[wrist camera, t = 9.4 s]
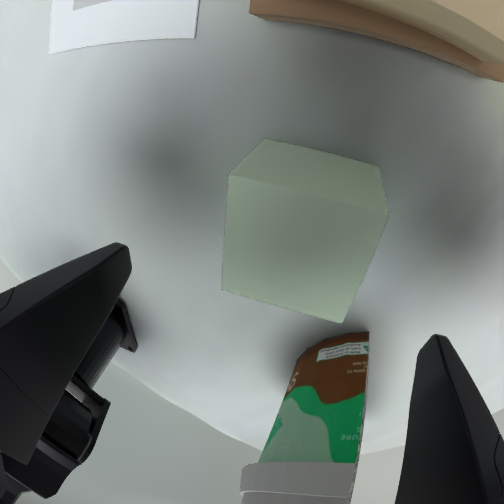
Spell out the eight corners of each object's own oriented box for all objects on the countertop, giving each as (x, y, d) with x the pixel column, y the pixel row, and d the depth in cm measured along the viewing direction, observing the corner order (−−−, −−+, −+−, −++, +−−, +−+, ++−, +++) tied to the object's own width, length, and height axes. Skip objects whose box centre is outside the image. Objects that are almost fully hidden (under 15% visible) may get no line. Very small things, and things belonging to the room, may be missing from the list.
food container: (258, 313, 17) (189, 481, 9) (369, 313, 15) (345, 511, 7) (293, 410, 23) (261, 516, 16) (365, 414, 21) (344, 527, 13)
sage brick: (348, 257, 13) (341, 323, 10) (252, 231, 14) (221, 289, 11) (378, 165, 11) (389, 215, 8) (265, 137, 11) (228, 174, 8)
